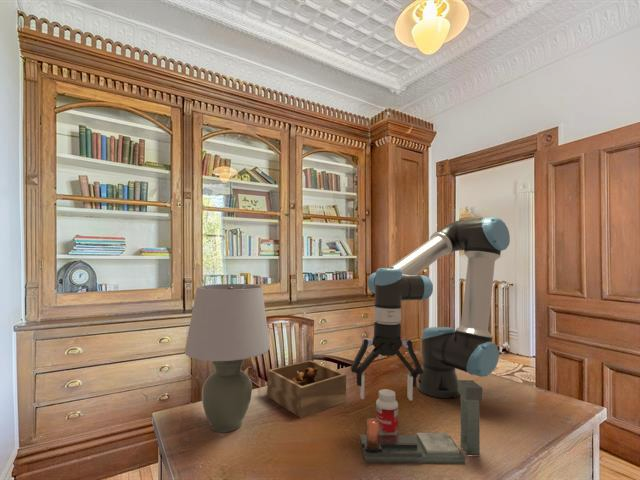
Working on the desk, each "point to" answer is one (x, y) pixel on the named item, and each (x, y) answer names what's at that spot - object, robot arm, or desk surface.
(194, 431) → the desk surface
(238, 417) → the lamp
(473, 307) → the robot arm
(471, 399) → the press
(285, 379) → the bear crate
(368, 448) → the lever
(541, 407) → the desk surface
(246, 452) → the desk surface
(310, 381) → the bear figurine
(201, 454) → the desk surface
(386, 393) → the pill bottle
